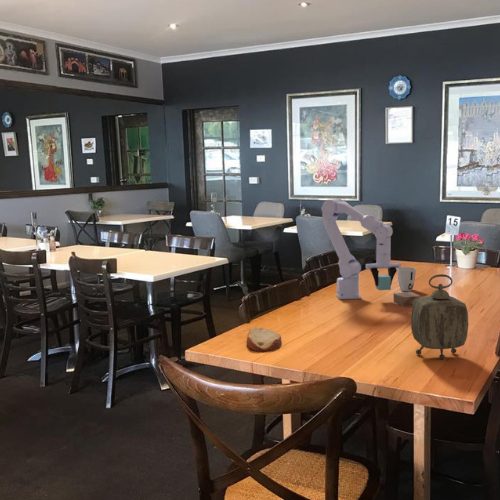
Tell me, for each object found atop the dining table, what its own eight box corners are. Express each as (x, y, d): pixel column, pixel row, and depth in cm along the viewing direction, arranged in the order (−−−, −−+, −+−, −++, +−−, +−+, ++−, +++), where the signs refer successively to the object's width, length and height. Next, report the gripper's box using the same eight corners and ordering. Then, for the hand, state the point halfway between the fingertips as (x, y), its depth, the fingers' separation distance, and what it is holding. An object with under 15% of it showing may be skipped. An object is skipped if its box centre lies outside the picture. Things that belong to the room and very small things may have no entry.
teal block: (378, 290, 231) (378, 277, 230) (375, 287, 236) (375, 275, 235) (390, 289, 231) (390, 276, 230) (387, 287, 236) (387, 274, 235)
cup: (411, 292, 248) (411, 270, 247) (394, 290, 253) (394, 269, 251) (418, 289, 254) (418, 267, 253) (401, 287, 259) (401, 266, 258)
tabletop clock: (457, 351, 169) (459, 271, 165) (470, 361, 160) (472, 276, 156) (410, 353, 168) (411, 272, 165) (420, 363, 159) (421, 278, 156)
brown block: (401, 306, 225) (402, 297, 224) (393, 302, 233) (393, 293, 232) (420, 305, 226) (420, 296, 226) (411, 301, 234) (411, 291, 233)
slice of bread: (257, 331, 197) (256, 321, 196) (298, 340, 185) (298, 329, 184) (222, 344, 183) (222, 333, 183) (265, 355, 172) (264, 343, 171)
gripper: (368, 255, 227) (368, 287, 229) (403, 254, 228) (403, 286, 230) (364, 253, 234) (364, 284, 236) (398, 251, 235) (397, 283, 237)
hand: (383, 285), depth 233 cm, fingers closed on teal block, 5 cm apart
